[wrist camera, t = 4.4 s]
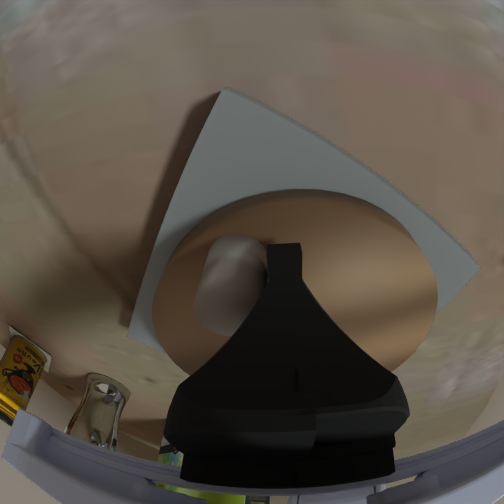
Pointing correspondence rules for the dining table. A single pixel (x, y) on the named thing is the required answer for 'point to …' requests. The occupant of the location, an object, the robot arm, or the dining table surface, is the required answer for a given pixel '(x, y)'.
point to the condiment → (19, 374)
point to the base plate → (276, 179)
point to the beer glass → (99, 412)
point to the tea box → (172, 456)
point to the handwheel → (313, 273)
